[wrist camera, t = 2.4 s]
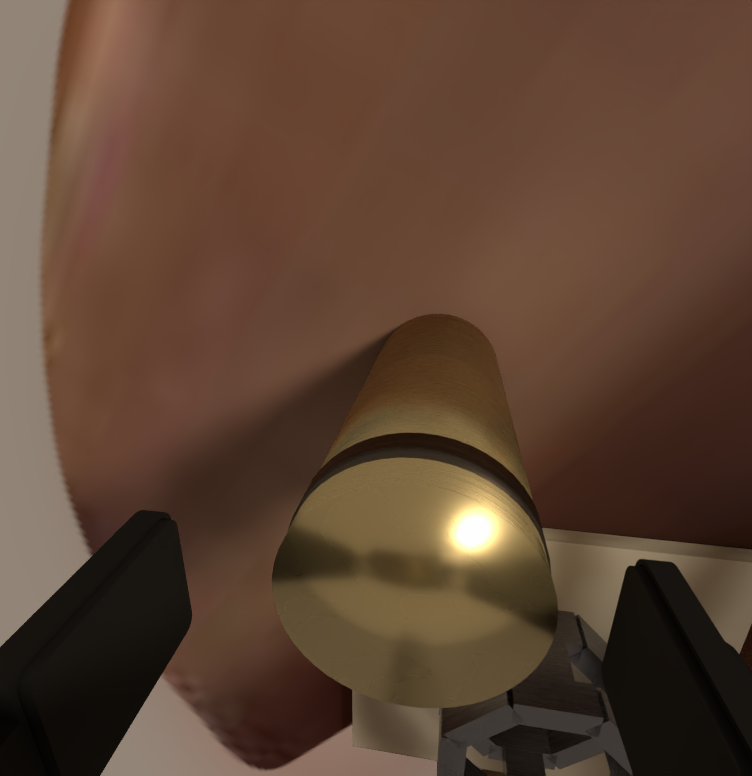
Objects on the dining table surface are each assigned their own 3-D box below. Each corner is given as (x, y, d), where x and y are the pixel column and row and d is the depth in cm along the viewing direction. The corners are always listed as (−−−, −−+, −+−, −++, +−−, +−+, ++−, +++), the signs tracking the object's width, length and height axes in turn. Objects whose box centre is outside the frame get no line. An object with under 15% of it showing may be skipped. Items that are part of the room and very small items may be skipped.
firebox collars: (633, 619, 24) (679, 729, 19) (599, 741, 28) (631, 861, 23) (447, 596, 26) (444, 693, 21) (437, 714, 29) (433, 822, 24)
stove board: (761, 550, 23) (774, 565, 22) (672, 784, 29) (679, 803, 28) (353, 508, 26) (350, 519, 25) (355, 730, 32) (352, 745, 31)
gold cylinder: (505, 315, 21) (585, 500, 8) (492, 432, 23) (538, 729, 10) (377, 310, 22) (258, 469, 9) (376, 423, 24) (278, 686, 11)
